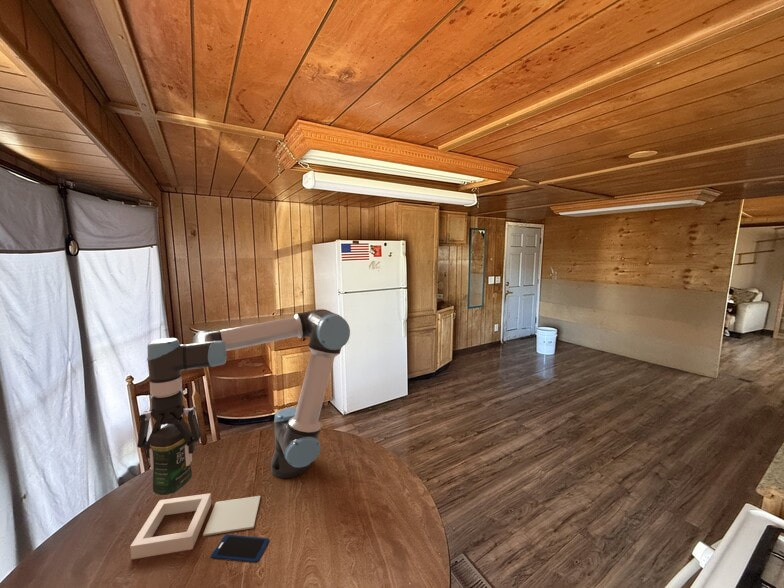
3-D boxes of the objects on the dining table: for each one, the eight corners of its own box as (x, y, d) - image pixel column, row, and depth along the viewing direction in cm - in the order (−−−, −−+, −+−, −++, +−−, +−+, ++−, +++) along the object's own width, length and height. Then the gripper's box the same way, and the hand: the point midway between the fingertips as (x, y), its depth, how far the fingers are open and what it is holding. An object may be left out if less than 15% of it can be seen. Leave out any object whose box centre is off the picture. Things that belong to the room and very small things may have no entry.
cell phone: (225, 536, 96) (225, 534, 96) (270, 540, 95) (270, 538, 95) (209, 559, 89) (209, 556, 89) (258, 564, 88) (257, 561, 88)
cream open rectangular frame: (211, 504, 108) (210, 493, 107) (192, 549, 91) (191, 536, 91) (160, 511, 104) (159, 500, 104) (131, 559, 88) (130, 546, 87)
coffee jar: (172, 498, 91) (168, 436, 89) (147, 495, 92) (142, 434, 90) (197, 475, 100) (194, 419, 98) (174, 472, 102) (170, 417, 99)
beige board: (260, 497, 111) (260, 495, 111) (253, 528, 99) (253, 526, 99) (216, 503, 108) (216, 501, 108) (203, 536, 96) (203, 534, 95)
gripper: (211, 384, 99) (215, 453, 102) (131, 389, 94) (137, 461, 97) (203, 394, 92) (207, 468, 94) (116, 401, 87) (123, 478, 89)
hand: (172, 465), depth 95 cm, fingers closed on coffee jar, 8 cm apart
